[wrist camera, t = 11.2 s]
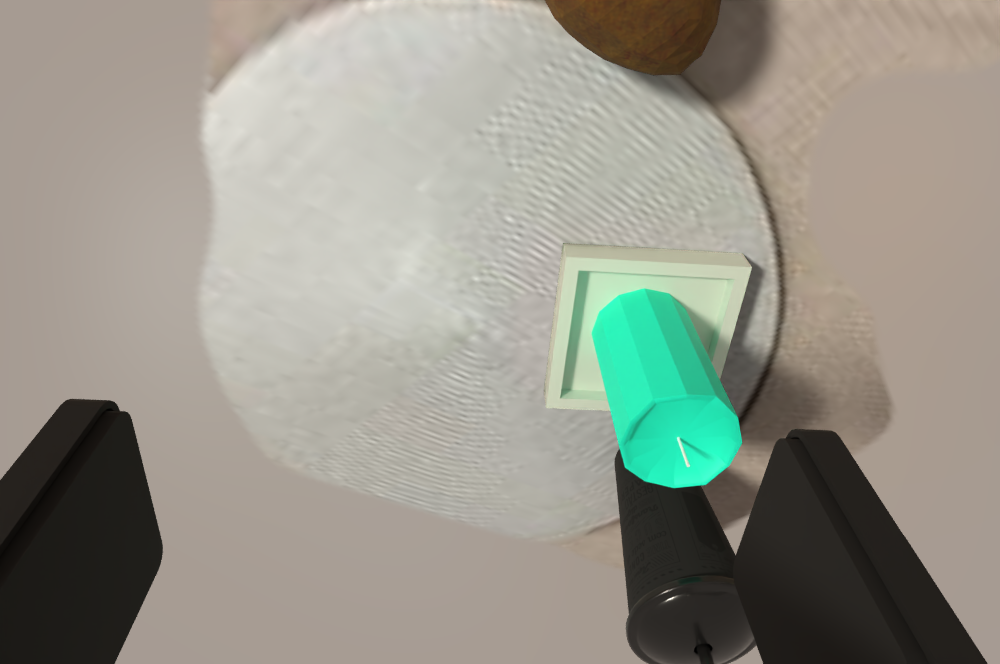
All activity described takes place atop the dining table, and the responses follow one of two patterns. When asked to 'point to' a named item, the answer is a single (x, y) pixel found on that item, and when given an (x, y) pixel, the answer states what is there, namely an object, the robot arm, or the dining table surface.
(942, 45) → the dining table surface
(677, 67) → the potato
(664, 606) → the drinking cup
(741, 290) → the tray
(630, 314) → the candle
